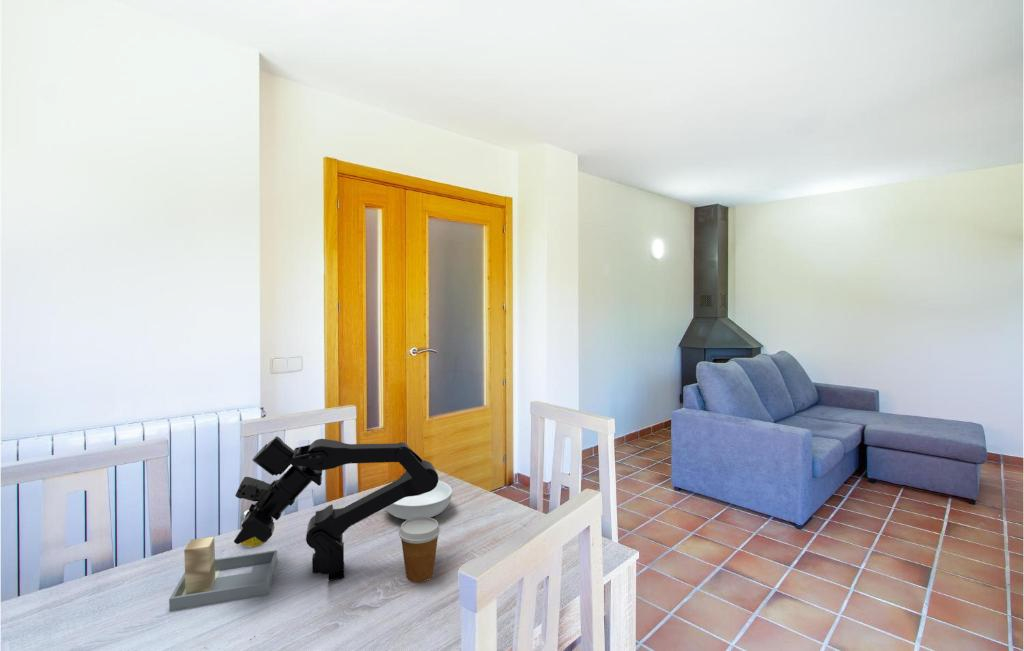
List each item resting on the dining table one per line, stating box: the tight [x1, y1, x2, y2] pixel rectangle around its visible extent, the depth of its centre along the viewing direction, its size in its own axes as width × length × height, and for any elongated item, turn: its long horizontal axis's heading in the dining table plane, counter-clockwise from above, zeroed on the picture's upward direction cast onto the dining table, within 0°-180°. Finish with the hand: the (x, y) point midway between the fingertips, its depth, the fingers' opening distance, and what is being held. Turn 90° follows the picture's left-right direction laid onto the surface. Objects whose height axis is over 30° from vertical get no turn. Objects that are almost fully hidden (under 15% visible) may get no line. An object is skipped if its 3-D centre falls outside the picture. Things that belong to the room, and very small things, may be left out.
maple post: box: [183, 536, 216, 595], centre depth 105 cm, size 4×4×10 cm
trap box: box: [168, 549, 278, 612], centre depth 107 cm, size 18×14×4 cm
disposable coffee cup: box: [398, 517, 441, 583], centre depth 113 cm, size 10×10×12 cm
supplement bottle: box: [240, 509, 265, 549], centre depth 124 cm, size 5×5×10 cm
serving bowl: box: [384, 480, 453, 521], centre depth 146 cm, size 21×21×7 cm
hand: (235, 542), depth 107 cm, fingers closed
